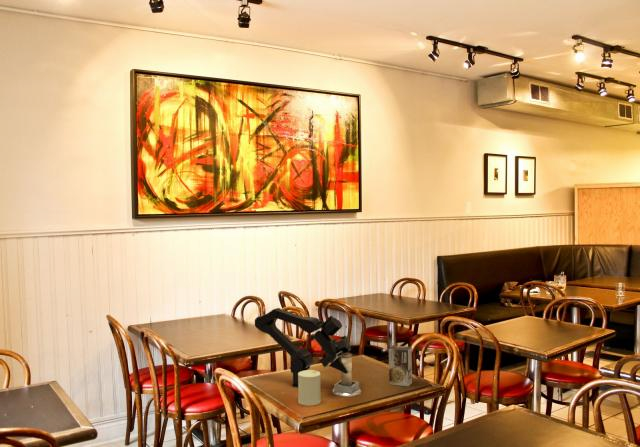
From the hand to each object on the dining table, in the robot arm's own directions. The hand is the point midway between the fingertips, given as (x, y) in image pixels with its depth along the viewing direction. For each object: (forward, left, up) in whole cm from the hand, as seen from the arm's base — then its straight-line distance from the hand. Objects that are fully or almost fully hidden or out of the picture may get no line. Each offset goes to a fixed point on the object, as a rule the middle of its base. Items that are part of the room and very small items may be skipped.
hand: (349, 371), depth 231 cm
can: (-15, -13, -9) cm, 22 cm away
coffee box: (+22, +14, -9) cm, 27 cm away
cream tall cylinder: (-1, 0, -7) cm, 7 cm away
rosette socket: (-1, 0, -9) cm, 9 cm away
